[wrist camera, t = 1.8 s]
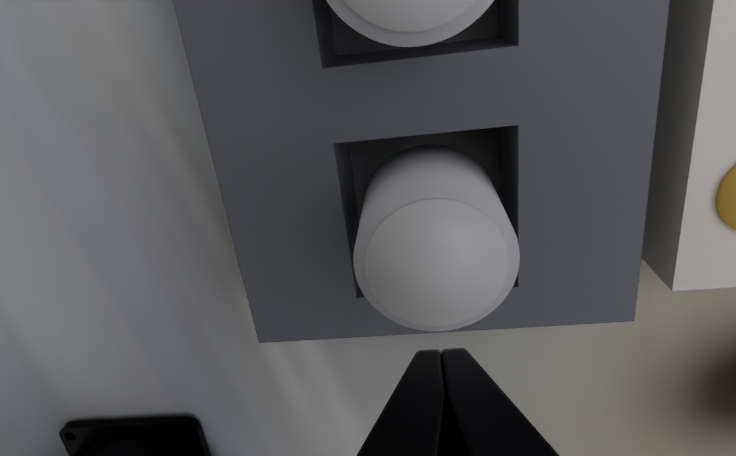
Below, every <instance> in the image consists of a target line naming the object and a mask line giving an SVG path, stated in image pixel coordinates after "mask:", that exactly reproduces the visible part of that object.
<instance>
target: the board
mask: <svg viewBox="0 0 736 456" xmlns="http://www.w3.org/2000/svg"><path fill="white" fill-rule="evenodd" d="M173 2H174V6H175V10H176V14H177V18H178V22H179V26H180V30H181V34H182V38H183V42H184V46H185V50H186V54H187V58H188V62H189V66H190V70H191V74H192V78H193V82H194V86H195V90H196V94H197V98H198V102H199V106H200V110H201V114H202V118H203V122H204V126H205V130H206V134H207V138H208V142H209V146H210V150H211V154H212V158H213V162H214V166H215V170H216V174H217V178H218V182H219V186H220V190H221V194H222V198H223V202H224V206H225V210H226V214H227V218H228V222H229V226H230V230H231V234H232V238H233V242H234V246H235V250H236V254H237V258H238V262H239V266H240V270H241V274H242V278H243V281H244V285H245V289H246V293H247V297H248V301H249V305H250V309H251V313H252V317H253V321H254V325H255V329H256V333H257V337H258V341H259V343H264V342H281V341H299V340H316V339H333V338H351V337H368V336H385V335H402V334H420V333H437V332H454V331H472V330H489V329H506V328H523V327H541V326H558V325H575V324H593V323H610V322H627V321H634V317H635V308H636V299H637V290H638V281H639V272H640V263H641V254H642V245H643V236H644V227H645V218H646V209H647V200H648V191H649V182H650V173H651V164H652V155H653V146H654V137H655V128H656V119H657V110H658V101H659V92H660V83H661V74H662V65H663V56H664V47H665V38H666V29H667V20H668V11H669V2H670V0H498V26H499V37H495V38H486V39H478V40H470V41H461V42H453V43H444V44H436V45H428V46H419V47H411V48H402V49H394V50H386V51H377V52H369V53H360V54H352V55H344V56H336V51H335V43H334V36H333V29H332V22H331V14H330V7H329V4H328V3H327V1H326V0H173ZM494 127H500V171H501V203H502V205H503V207H504V210H505V212H506V214H507V216H508V218H509V220H510V223H511V225H512V227H513V229H514V232H515V234H516V237H517V240H518V244H519V252H520V262H519V269H518V274H517V277H516V280H515V282H514V285H513V287H512V289H511V290H510V292H509V294H508V295H507V297H506V298H505V299H504V301H503V302H502V303H501V304H500V305H499V306H498V307H497V308H496V309H495V310H493V311H492V312H491V313H490V314H488V315H487V316H485V317H484V318H482V319H481V320H479V321H477V322H475V323H472V324H470V325H467V326H465V327H462V328H458V329H453V330H447V331H423V330H417V329H412V328H409V327H406V326H403V325H400V324H398V323H396V322H394V321H392V320H390V319H388V318H387V317H385V316H384V315H382V314H381V313H380V312H379V311H377V310H376V309H375V308H374V307H373V306H372V305H371V304H370V303H369V301H368V300H367V299H366V297H365V296H364V294H363V293H362V291H361V289H360V287H359V285H358V282H357V279H356V276H355V271H354V262H353V257H354V248H355V243H356V238H357V233H358V228H359V218H358V211H357V203H356V196H355V189H354V182H353V174H352V167H351V160H350V153H349V145H348V142H354V141H364V140H374V139H384V138H394V137H404V136H414V135H424V134H434V133H444V132H454V131H464V130H474V129H484V128H494Z"/></svg>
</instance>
